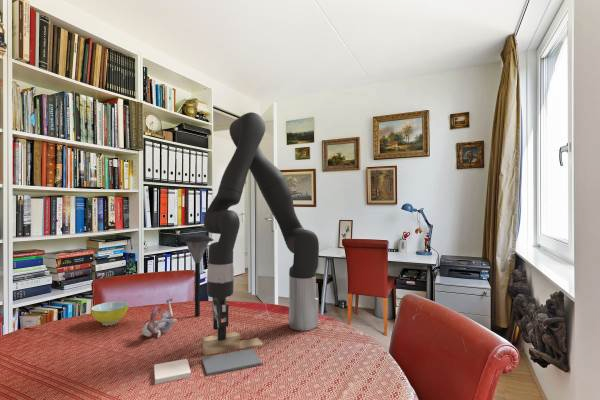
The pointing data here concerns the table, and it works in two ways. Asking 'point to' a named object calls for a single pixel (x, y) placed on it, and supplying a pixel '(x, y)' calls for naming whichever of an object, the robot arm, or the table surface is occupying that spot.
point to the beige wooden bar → (228, 343)
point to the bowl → (109, 312)
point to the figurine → (159, 322)
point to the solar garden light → (197, 261)
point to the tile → (171, 371)
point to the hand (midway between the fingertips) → (219, 334)
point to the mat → (230, 361)
